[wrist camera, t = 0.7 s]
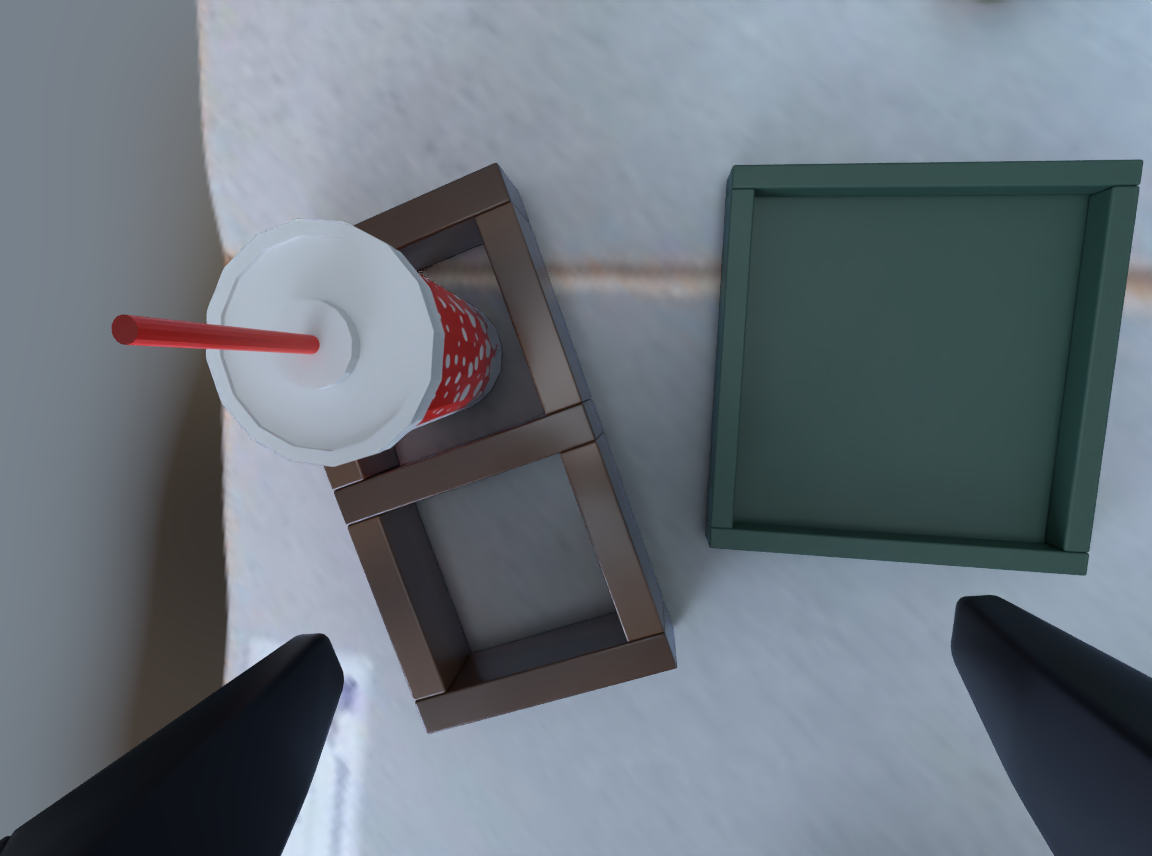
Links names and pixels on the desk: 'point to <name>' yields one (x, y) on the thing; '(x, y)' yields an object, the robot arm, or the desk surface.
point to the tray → (918, 359)
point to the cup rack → (570, 427)
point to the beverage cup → (332, 343)
